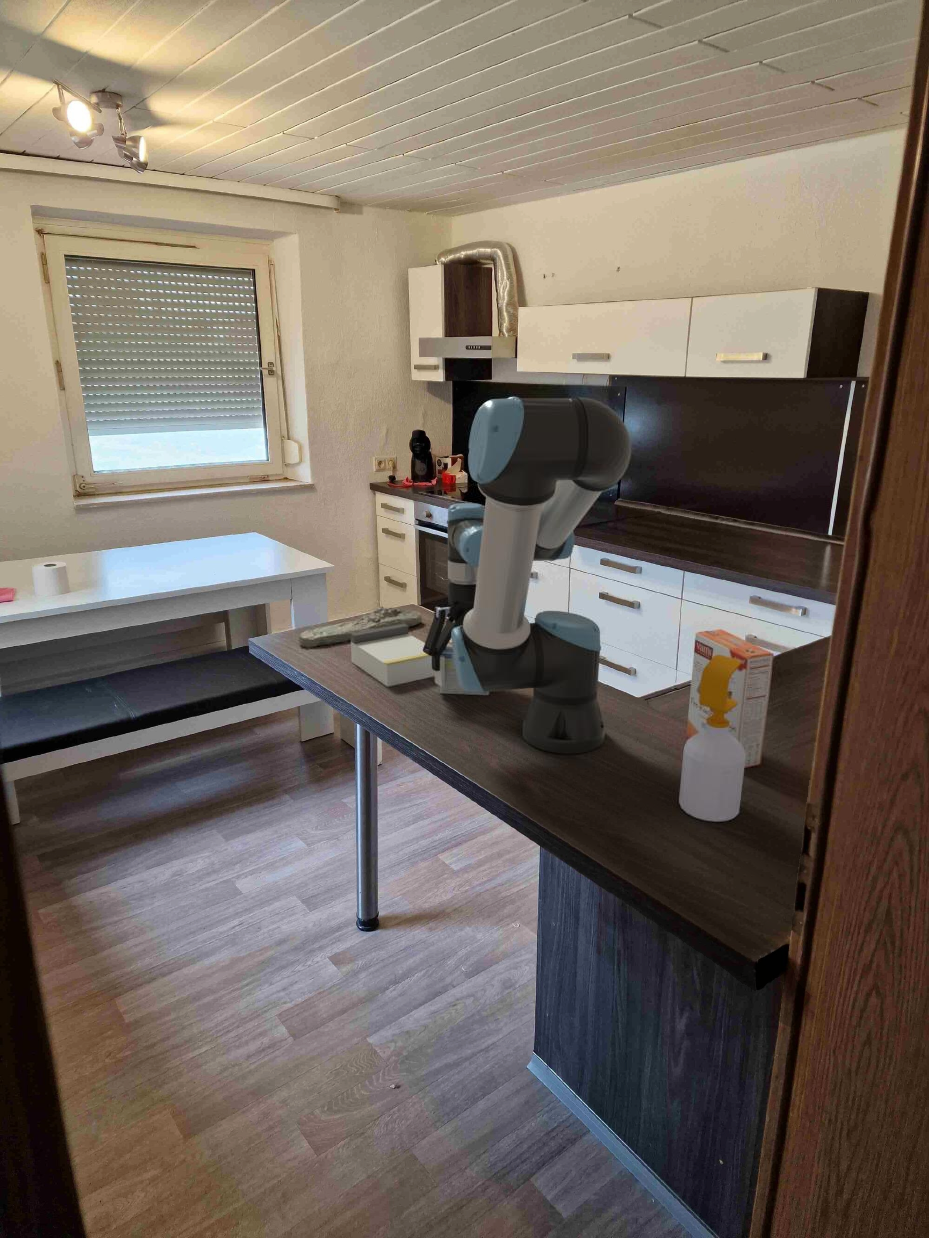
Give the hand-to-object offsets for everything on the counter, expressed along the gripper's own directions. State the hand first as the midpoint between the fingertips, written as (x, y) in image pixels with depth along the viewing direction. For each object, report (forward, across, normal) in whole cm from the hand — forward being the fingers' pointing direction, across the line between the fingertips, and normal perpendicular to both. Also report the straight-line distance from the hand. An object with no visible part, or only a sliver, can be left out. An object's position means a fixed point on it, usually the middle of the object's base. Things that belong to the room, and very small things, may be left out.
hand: (465, 678), depth 171 cm
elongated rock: (+3, +2, -46) cm, 46 cm away
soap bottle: (+3, -6, +61) cm, 61 cm away
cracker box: (+3, -23, +49) cm, 54 cm away
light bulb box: (+3, 0, 0) cm, 3 cm away
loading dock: (+2, +6, -19) cm, 20 cm away
